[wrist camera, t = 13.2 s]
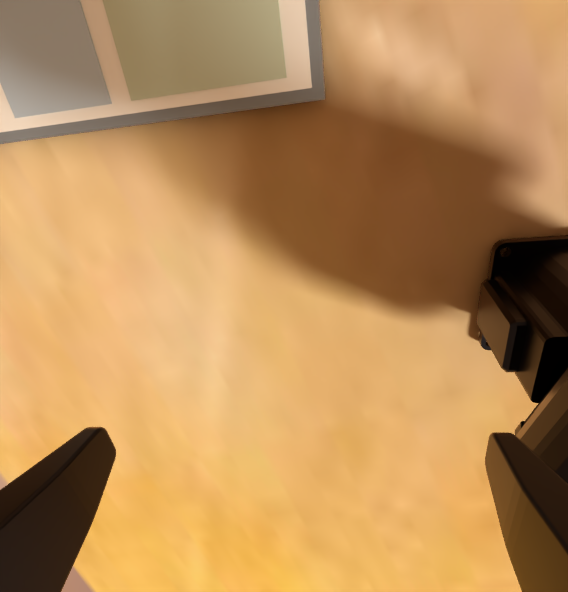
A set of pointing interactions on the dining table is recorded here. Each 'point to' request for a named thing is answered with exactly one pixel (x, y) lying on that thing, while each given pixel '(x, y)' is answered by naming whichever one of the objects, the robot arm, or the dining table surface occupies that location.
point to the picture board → (151, 61)
